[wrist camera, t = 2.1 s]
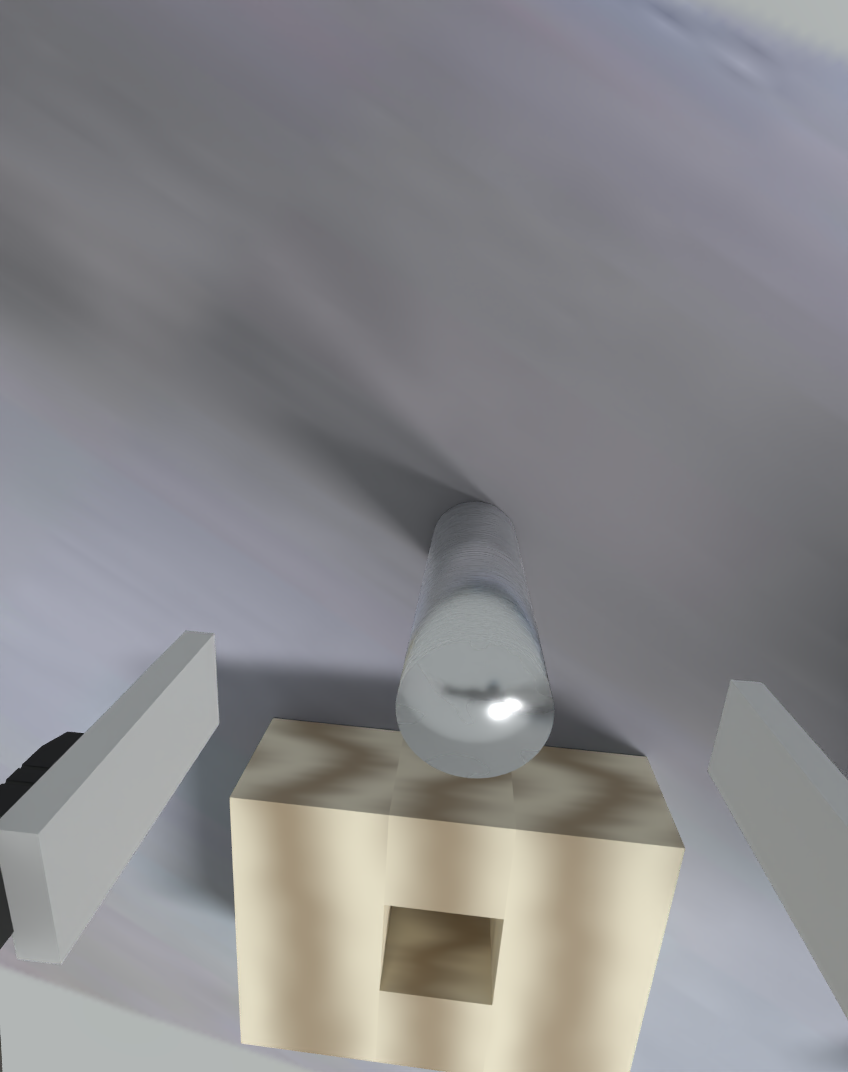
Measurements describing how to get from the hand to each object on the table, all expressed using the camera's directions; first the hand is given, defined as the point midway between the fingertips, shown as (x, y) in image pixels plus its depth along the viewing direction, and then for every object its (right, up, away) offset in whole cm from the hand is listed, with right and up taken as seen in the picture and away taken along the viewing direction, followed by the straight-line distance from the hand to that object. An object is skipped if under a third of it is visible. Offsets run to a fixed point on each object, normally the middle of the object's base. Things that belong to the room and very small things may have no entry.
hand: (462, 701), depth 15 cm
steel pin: (+1, +4, +13) cm, 14 cm away
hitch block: (0, -14, +19) cm, 24 cm away
